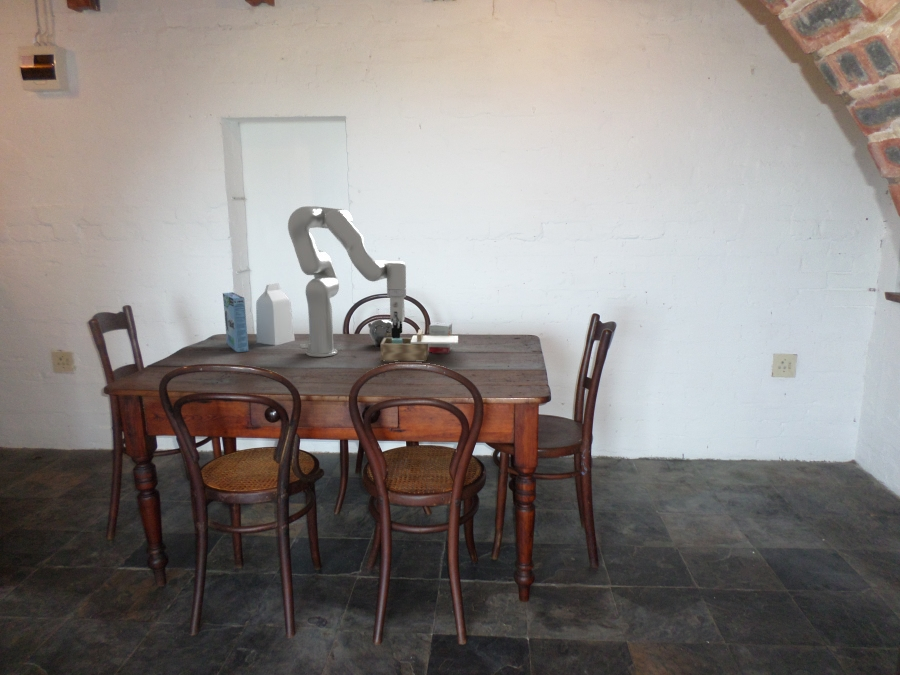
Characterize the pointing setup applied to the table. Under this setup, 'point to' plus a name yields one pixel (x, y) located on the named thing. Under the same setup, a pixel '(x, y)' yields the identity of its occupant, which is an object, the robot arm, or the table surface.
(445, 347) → the ink box
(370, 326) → the piggy bank
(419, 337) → the lid
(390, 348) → the tan open box
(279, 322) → the milk
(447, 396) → the table surface
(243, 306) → the blue cereal box
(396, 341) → the block
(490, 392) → the table surface
